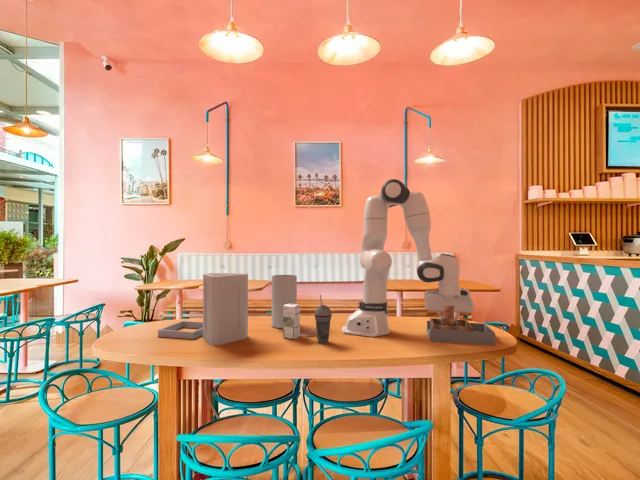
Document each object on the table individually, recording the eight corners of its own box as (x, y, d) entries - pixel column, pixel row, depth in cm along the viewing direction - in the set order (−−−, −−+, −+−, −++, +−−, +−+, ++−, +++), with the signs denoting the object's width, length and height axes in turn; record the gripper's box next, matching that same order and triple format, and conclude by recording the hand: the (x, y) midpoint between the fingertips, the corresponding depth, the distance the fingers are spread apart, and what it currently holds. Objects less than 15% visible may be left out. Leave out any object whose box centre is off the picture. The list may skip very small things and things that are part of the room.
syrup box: (300, 336, 154) (300, 303, 154) (294, 339, 148) (294, 306, 148) (289, 334, 156) (289, 302, 156) (282, 338, 151) (282, 305, 151)
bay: (430, 341, 147) (430, 329, 147) (426, 330, 164) (426, 320, 164) (495, 345, 141) (495, 333, 141) (484, 334, 158) (485, 323, 158)
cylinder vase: (295, 329, 167) (295, 277, 167) (269, 328, 167) (269, 277, 167) (297, 322, 179) (297, 274, 179) (273, 322, 179) (273, 274, 179)
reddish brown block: (444, 332, 152) (444, 305, 152) (443, 330, 156) (443, 304, 156) (454, 333, 151) (453, 306, 151) (452, 330, 155) (452, 304, 155)
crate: (432, 337, 148) (433, 325, 148) (430, 329, 162) (430, 318, 162) (472, 339, 145) (472, 327, 145) (466, 331, 159) (466, 319, 159)
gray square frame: (158, 336, 152) (158, 329, 152) (182, 326, 170) (182, 320, 170) (193, 339, 149) (193, 332, 149) (214, 329, 166) (214, 322, 166)
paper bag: (192, 344, 141) (192, 276, 141) (206, 334, 156) (207, 272, 156) (237, 346, 139) (238, 276, 140) (248, 335, 154) (248, 273, 154)
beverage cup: (330, 345, 141) (330, 296, 141) (312, 344, 142) (312, 295, 142) (332, 340, 148) (333, 293, 148) (316, 339, 149) (316, 293, 149)
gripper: (424, 290, 153) (424, 321, 153) (474, 292, 148) (474, 324, 148) (423, 288, 159) (423, 318, 159) (471, 290, 155) (471, 321, 155)
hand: (448, 321), depth 154 cm, fingers closed on reddish brown block, 4 cm apart
